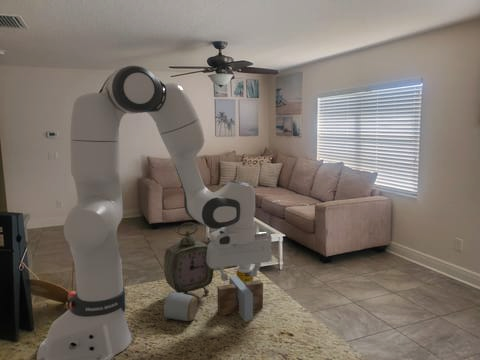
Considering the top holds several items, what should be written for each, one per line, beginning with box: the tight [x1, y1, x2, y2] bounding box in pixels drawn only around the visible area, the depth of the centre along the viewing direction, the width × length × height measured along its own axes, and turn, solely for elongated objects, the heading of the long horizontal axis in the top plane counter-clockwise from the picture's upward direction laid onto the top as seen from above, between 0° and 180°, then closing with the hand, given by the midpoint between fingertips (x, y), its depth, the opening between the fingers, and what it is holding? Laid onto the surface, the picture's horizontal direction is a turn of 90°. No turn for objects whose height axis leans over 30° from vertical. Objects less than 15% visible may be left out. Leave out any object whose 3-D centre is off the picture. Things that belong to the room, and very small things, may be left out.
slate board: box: [228, 275, 254, 322], centre depth 117 cm, size 14×2×8 cm, turn 20°
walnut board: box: [216, 279, 264, 316], centre depth 117 cm, size 14×2×8 cm, turn 110°
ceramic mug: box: [163, 290, 199, 322], centre depth 113 cm, size 11×8×8 cm
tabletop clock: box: [163, 221, 215, 295], centre depth 126 cm, size 14×9×25 cm, turn 123°
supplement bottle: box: [236, 264, 254, 284], centre depth 130 cm, size 6×6×10 cm
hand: (239, 278), depth 116 cm, fingers open, 8 cm apart
